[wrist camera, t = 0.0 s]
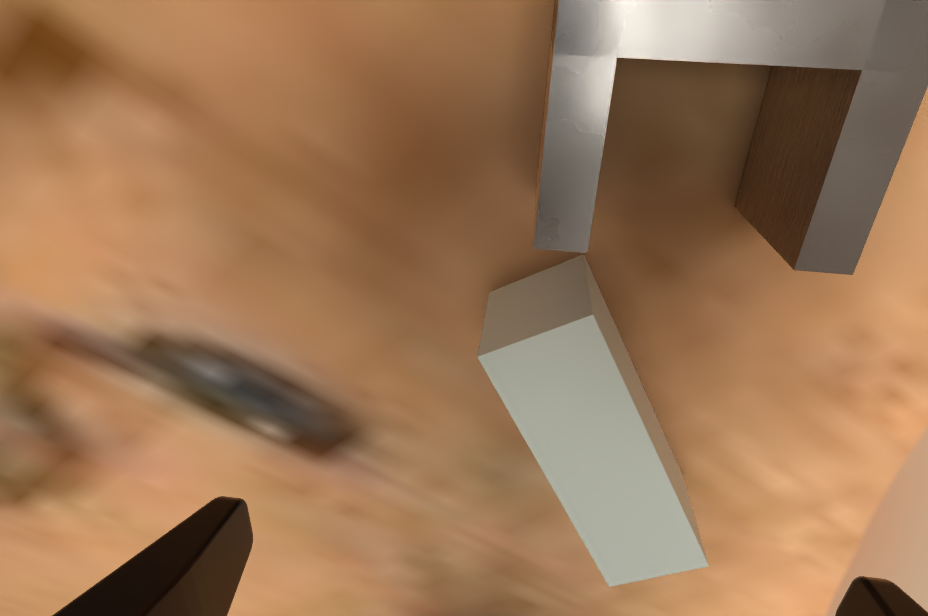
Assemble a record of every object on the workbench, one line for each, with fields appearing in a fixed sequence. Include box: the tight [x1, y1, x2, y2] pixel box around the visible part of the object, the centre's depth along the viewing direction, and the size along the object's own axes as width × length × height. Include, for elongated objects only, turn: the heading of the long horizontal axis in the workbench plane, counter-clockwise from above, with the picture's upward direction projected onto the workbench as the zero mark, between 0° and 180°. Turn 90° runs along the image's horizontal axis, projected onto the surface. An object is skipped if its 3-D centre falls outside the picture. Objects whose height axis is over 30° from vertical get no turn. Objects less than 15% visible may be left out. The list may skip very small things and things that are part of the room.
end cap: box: [533, 0, 928, 275], centre depth 17 cm, size 6×8×6 cm
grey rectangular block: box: [477, 254, 709, 587], centre depth 23 cm, size 12×4×5 cm, turn 27°
